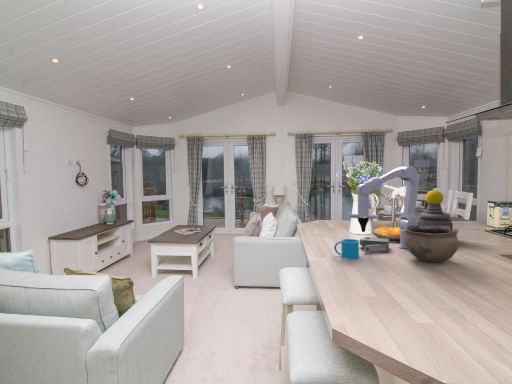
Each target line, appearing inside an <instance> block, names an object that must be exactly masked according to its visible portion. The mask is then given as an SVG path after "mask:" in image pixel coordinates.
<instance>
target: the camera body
mask: <svg viewBox="0 0 512 384" xmlns="http://www.w3.org/2000/svg"><path fill="white" fill-rule="evenodd" d="M381 244H388V251H389V250H390V239H389V238H381V237H380V238H379V237H370V236H366V237H363V238H360V239H359V246H361V250H364V246H365V245H381Z"/></svg>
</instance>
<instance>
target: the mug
mask: <svg viewBox="0 0 512 384" xmlns="http://www.w3.org/2000/svg"><path fill="white" fill-rule="evenodd" d="M339 244H341V252H340V251H338V250H337V246H338V245H339ZM359 246H360V240H358V239H354V238H353V239H351V238H348V239H347V238H345V239H341V241H338V242H336V243H334V247H333V249H334V251H335V253H336V254H338V255H340V256H341V258H342V257H343V259H345V258H347V259H346V260H358V259H359V258H360V253H359V252H360V251H359V250H360V249H359V248H360V247H359ZM357 258H358V259H357Z"/></svg>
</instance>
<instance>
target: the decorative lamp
mask: <svg viewBox="0 0 512 384" xmlns="http://www.w3.org/2000/svg"><path fill="white" fill-rule="evenodd" d="M425 201H426V202H427V207H426V210H425V212H421V213H420V214H419V218H417V224H418V226H421V225H425V226H437V225H438V226H446V227H450V230H451V231H453V230H454V229H453V222H452V221H453V220H452V219H450V218H451V215H450V214H449V213H445V212H444V210H442V209H443V208H442V203H443V201H444V194H443V193H442V192H441V191H440V190H436V189H433V190H429V191H428V192H427V193H426V195H425Z"/></svg>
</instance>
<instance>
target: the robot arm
mask: <svg viewBox="0 0 512 384" xmlns="http://www.w3.org/2000/svg"><path fill="white" fill-rule="evenodd" d="M395 178H399V179H401V180H402V181H404V183H406V184H407V187H406V191H405V192H406V193H405V199H404V206H403V207H404V208H403V212H402V213H401V214H400V217H399V220H398V221H397V226H398V228H399V229H400V230H399V236H400V237H399V239H400V242H399V243H400V244H399V246H398V248H399V249H407V247H406V245H405V236H406V232H405V230H404V229H405V228H406V227H409V226H415V225H418V224H417V222H418V218H417V216H416V215H415V213H416V206H417V200H418V193H419V186H420V185H419V184H420V180H419V177H418V170H417V169H416V168H415V167H414V166H411V165H409V166H399V167H397V168H394V169H392V170H391V171H389V172H387V173H386V174H384V175H382V176H380V177H375V176H373V177H372V178H371V179H370V180H368V181H364V182H363V183H362V184H361V183H360V184H359V185H357V186H356V189H355V192H356V194H357V213H350V214H349V215H348V217H349V219H357V221H358V224H359V226H360V229H361V233H365V232H366V228H367V224H368V222H369V220H378V219H379V215H378V214H370V194H371V193H372V192H374V191H376V190H377V189H380V188H381V187H383V184H384V183H386V182H388V181H390V180H393V179H395Z"/></svg>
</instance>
